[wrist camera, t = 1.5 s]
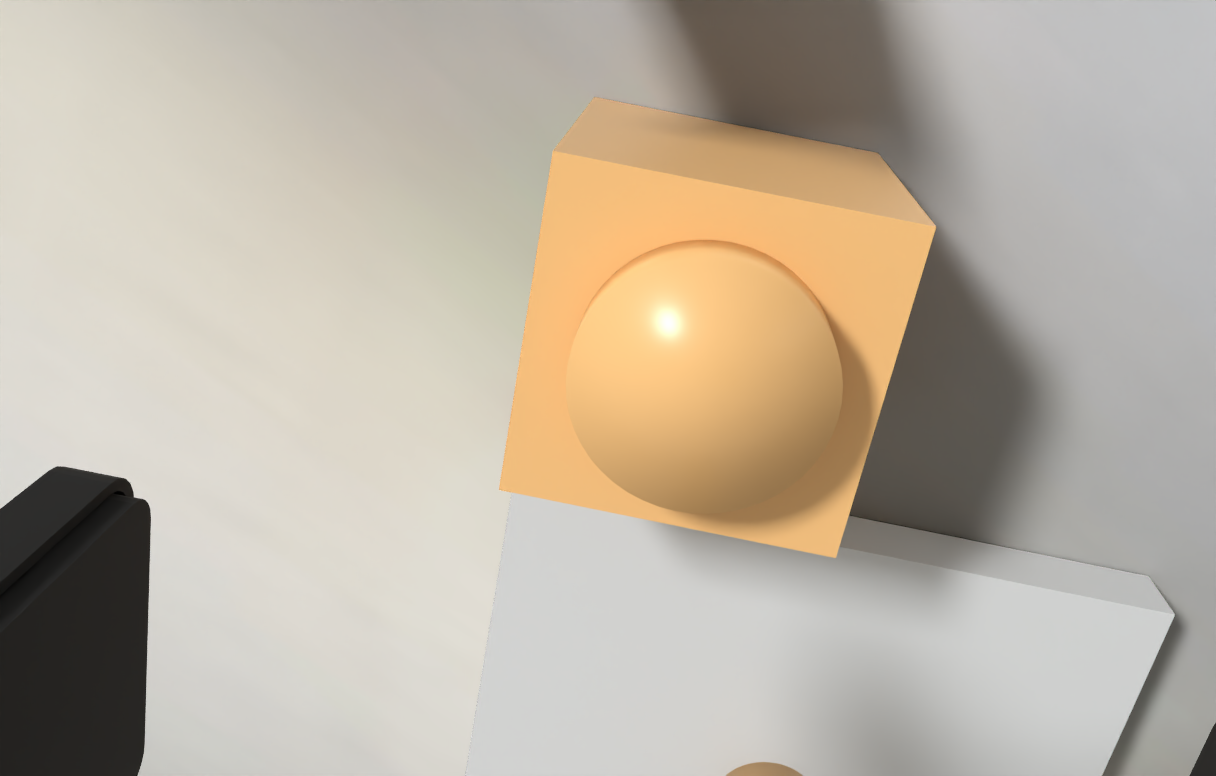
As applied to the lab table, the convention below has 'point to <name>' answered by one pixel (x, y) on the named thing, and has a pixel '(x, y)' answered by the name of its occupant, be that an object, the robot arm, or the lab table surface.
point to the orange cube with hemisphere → (711, 325)
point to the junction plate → (801, 654)
